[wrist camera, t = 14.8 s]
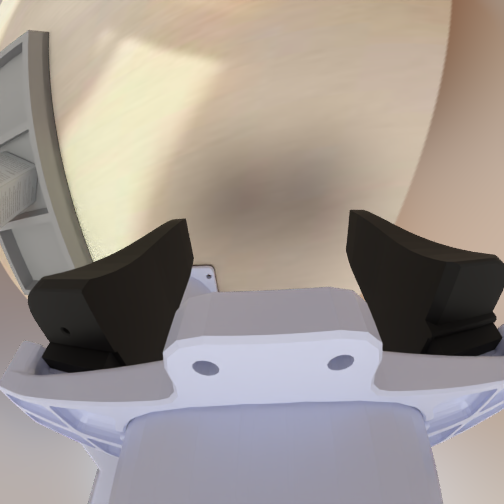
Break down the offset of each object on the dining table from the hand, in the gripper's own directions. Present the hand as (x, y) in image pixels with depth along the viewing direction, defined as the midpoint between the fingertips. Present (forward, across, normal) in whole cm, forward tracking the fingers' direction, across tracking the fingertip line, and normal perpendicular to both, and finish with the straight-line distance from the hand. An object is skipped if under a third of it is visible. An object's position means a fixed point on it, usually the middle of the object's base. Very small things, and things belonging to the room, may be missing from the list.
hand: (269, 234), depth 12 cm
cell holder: (+10, +24, -4) cm, 27 cm away
